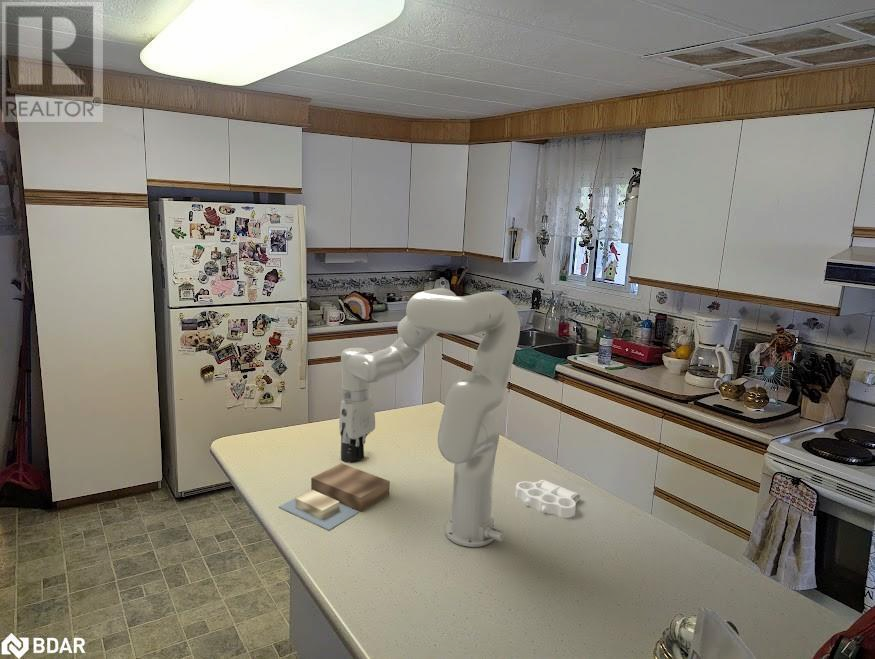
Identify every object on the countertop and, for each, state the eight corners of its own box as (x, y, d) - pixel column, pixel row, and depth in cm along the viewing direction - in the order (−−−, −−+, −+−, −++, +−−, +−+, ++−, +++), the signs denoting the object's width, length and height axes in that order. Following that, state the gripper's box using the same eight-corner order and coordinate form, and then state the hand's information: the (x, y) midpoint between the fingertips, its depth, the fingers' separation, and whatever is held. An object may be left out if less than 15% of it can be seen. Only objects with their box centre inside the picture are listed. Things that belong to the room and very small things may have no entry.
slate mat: (359, 512, 154) (359, 511, 154) (328, 530, 145) (328, 529, 145) (310, 491, 164) (310, 490, 164) (278, 507, 155) (278, 506, 155)
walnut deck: (389, 494, 164) (389, 481, 163) (360, 511, 154) (360, 497, 153) (341, 475, 174) (341, 463, 173) (311, 491, 164) (311, 477, 163)
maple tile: (322, 510, 149) (322, 519, 149) (339, 501, 153) (339, 510, 154) (295, 498, 154) (295, 506, 155) (312, 489, 159) (312, 498, 160)
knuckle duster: (589, 506, 163) (561, 525, 152) (535, 483, 175) (505, 500, 164) (591, 495, 162) (562, 513, 152) (535, 473, 174) (506, 488, 164)
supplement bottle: (351, 464, 181) (352, 427, 179) (336, 458, 185) (336, 422, 183) (367, 457, 187) (367, 421, 184) (351, 451, 191) (352, 416, 188)
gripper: (347, 403, 151) (349, 471, 154) (384, 389, 163) (385, 452, 167) (326, 398, 155) (328, 464, 159) (363, 385, 167) (364, 446, 171)
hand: (357, 458), depth 163 cm, fingers closed
